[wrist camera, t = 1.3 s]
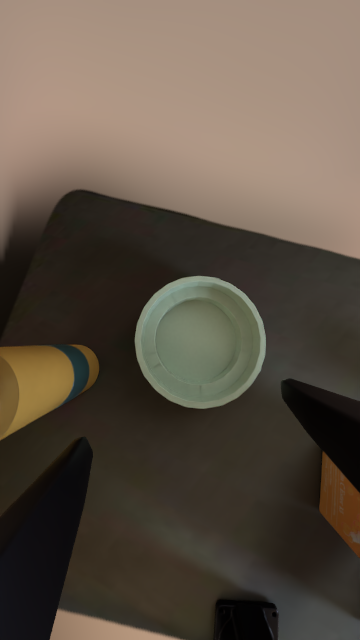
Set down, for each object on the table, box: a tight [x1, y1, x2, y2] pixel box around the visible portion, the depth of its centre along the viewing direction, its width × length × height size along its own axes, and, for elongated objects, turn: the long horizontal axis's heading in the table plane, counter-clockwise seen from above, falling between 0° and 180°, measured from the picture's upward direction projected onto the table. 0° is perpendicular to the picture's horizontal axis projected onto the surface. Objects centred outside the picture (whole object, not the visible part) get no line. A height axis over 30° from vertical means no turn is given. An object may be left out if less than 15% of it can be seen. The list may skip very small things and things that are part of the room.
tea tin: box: [0, 344, 99, 440], centre depth 15 cm, size 6×6×12 cm
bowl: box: [135, 276, 266, 409], centre depth 20 cm, size 13×13×4 cm
